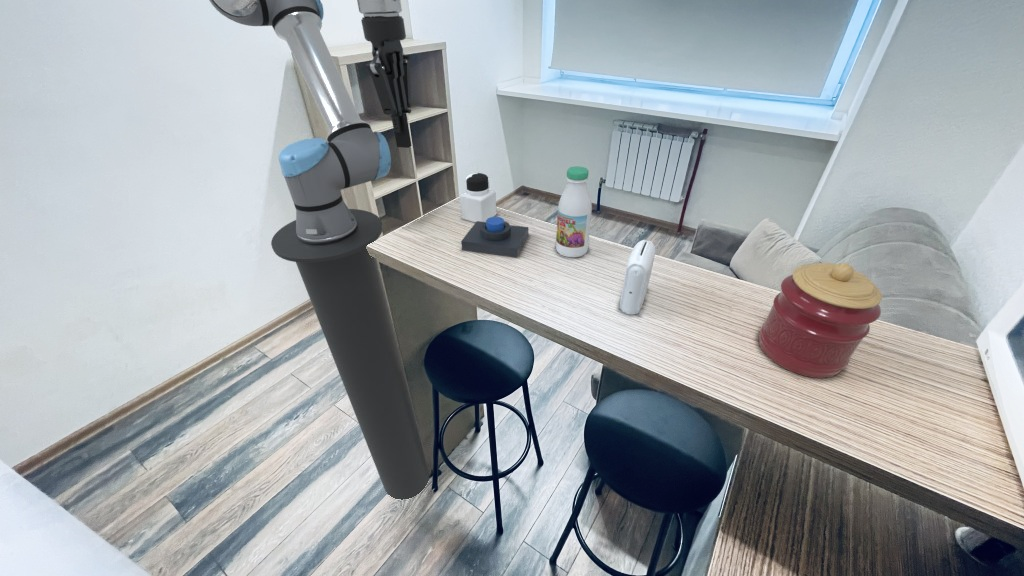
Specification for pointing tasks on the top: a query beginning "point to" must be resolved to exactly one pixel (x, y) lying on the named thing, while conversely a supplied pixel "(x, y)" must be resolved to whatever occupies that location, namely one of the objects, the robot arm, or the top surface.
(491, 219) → the push top
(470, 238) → the button base
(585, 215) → the milk bottle
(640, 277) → the photo printer
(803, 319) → the kitchen canister
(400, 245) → the top surface
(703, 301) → the top surface
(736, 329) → the top surface
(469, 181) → the medicine bottle
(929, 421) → the top surface
